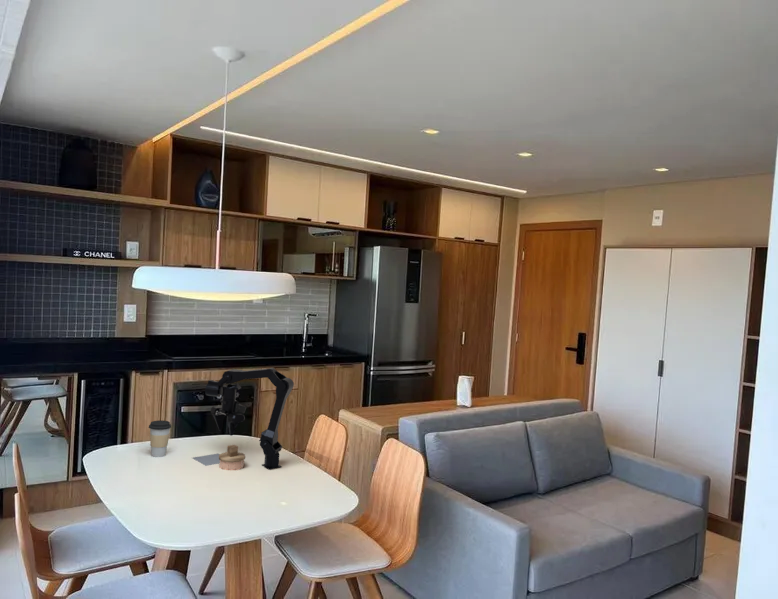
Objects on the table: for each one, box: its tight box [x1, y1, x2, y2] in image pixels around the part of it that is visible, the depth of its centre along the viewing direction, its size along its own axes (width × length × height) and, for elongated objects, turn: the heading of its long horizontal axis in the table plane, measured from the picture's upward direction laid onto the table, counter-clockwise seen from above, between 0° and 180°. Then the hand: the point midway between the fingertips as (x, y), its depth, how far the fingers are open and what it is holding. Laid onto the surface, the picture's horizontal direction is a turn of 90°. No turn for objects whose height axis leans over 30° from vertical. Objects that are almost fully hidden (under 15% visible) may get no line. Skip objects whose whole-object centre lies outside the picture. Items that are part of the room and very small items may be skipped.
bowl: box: [219, 460, 245, 471], centre depth 252 cm, size 10×10×4 cm
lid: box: [218, 444, 246, 462], centre depth 252 cm, size 11×11×5 cm
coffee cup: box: [148, 419, 172, 458], centre depth 260 cm, size 9×9×15 cm
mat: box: [192, 453, 220, 467], centre depth 260 cm, size 13×13×1 cm
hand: (225, 432), depth 261 cm, fingers open, 9 cm apart
